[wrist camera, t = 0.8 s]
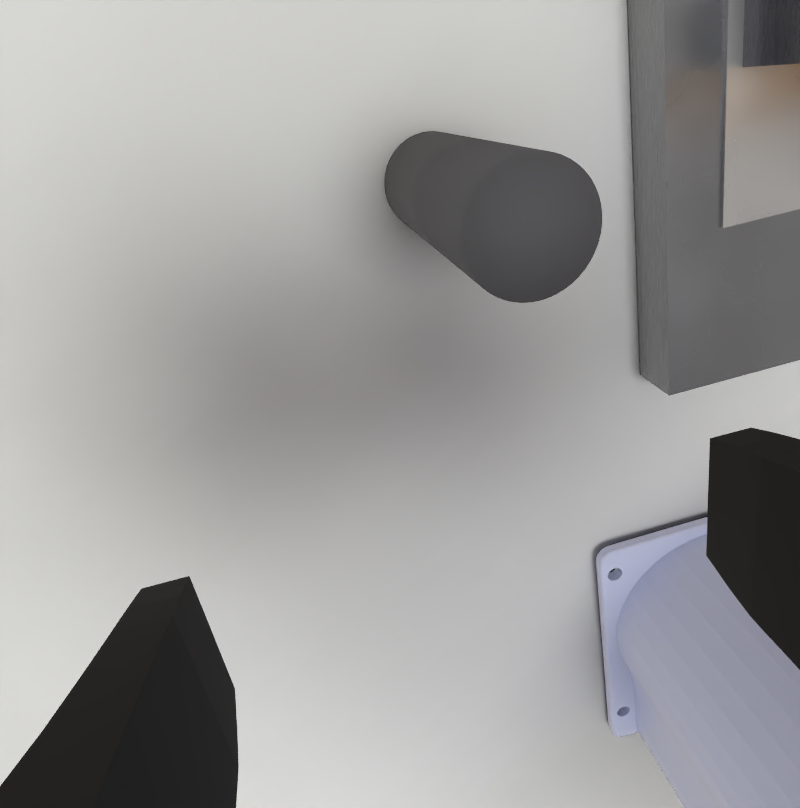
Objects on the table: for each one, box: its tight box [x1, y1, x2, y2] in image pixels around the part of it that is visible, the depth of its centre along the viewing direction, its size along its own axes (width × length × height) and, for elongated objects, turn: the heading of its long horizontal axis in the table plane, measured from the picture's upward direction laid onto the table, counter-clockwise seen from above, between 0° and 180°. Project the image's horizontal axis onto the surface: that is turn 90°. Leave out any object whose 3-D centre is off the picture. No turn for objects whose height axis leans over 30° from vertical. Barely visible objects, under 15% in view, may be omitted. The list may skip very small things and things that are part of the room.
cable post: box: [385, 131, 602, 303], centre depth 14 cm, size 2×2×7 cm
